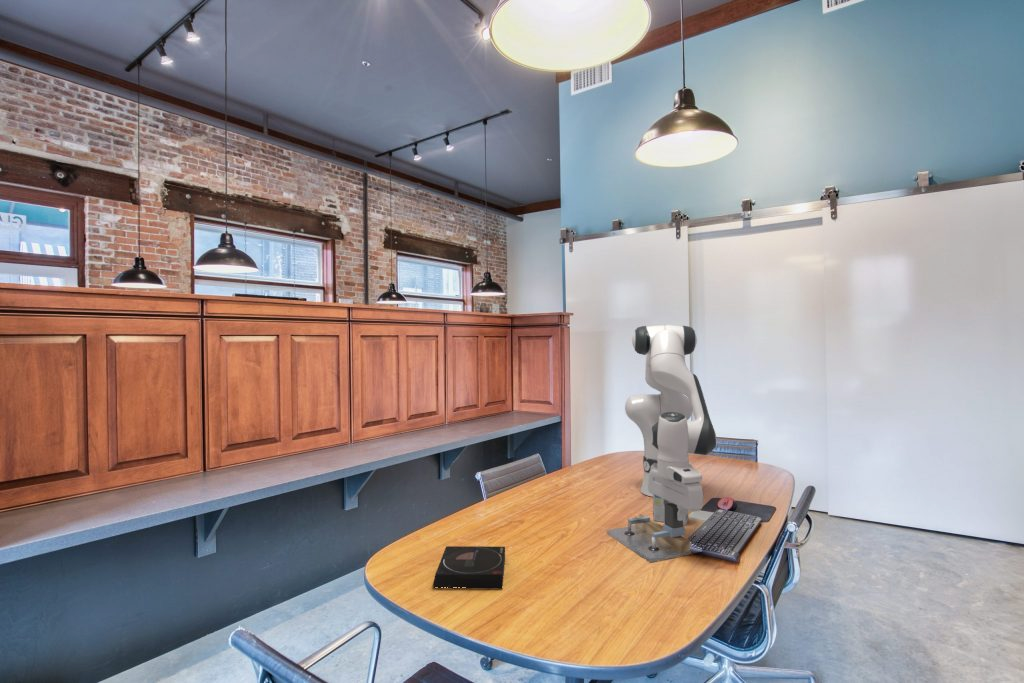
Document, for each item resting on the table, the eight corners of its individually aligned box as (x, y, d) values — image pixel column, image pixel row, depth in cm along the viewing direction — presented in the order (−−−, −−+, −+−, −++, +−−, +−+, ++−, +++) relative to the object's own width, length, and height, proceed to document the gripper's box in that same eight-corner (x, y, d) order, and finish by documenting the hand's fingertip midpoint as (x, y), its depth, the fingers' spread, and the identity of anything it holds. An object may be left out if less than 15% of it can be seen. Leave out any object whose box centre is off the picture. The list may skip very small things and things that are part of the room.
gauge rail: (642, 524, 159) (642, 511, 159) (689, 551, 139) (689, 536, 139) (619, 528, 156) (619, 514, 156) (663, 556, 136) (663, 541, 136)
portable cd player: (444, 560, 137) (443, 546, 137) (505, 560, 137) (505, 546, 137) (432, 590, 121) (432, 574, 121) (502, 590, 120) (502, 574, 120)
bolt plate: (654, 525, 161) (654, 521, 161) (702, 552, 140) (702, 548, 140) (606, 533, 155) (606, 529, 155) (649, 562, 134) (649, 558, 134)
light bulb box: (688, 519, 167) (688, 487, 166) (686, 526, 160) (686, 493, 160) (655, 514, 171) (655, 483, 171) (652, 521, 165) (652, 489, 165)
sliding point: (675, 540, 146) (675, 501, 146) (684, 545, 142) (684, 506, 142) (647, 545, 142) (647, 505, 142) (656, 551, 138) (656, 510, 138)
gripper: (642, 462, 152) (642, 507, 152) (688, 479, 132) (688, 530, 132) (659, 460, 154) (659, 504, 154) (706, 477, 135) (707, 527, 135)
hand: (673, 517), depth 143 cm, fingers closed on sliding point, 4 cm apart
